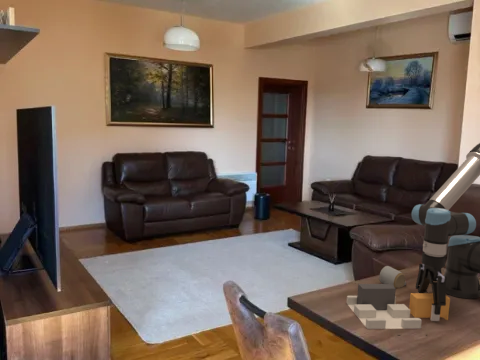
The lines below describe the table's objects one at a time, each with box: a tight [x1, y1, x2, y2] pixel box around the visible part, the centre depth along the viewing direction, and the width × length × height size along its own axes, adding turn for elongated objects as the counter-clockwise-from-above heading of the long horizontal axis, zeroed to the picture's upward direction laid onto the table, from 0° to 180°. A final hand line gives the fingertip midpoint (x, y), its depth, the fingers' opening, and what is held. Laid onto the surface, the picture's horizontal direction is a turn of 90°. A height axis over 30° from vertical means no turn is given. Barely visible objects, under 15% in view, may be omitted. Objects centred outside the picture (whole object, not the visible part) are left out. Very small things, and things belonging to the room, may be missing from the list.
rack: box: [346, 295, 423, 330], centre depth 151 cm, size 18×20×4 cm
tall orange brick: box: [408, 292, 451, 321], centre depth 152 cm, size 12×4×8 cm, turn 95°
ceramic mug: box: [378, 265, 407, 289], centre depth 181 cm, size 11×8×8 cm
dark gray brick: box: [356, 283, 397, 310], centre depth 156 cm, size 12×4×8 cm, turn 96°
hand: (427, 316), depth 153 cm, fingers open, 8 cm apart
